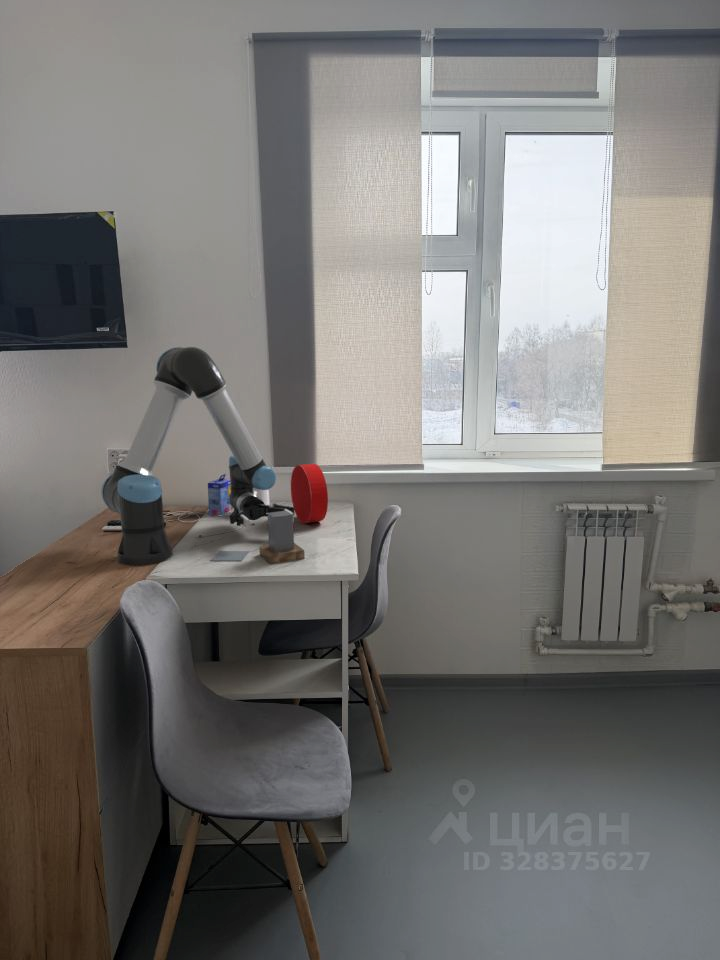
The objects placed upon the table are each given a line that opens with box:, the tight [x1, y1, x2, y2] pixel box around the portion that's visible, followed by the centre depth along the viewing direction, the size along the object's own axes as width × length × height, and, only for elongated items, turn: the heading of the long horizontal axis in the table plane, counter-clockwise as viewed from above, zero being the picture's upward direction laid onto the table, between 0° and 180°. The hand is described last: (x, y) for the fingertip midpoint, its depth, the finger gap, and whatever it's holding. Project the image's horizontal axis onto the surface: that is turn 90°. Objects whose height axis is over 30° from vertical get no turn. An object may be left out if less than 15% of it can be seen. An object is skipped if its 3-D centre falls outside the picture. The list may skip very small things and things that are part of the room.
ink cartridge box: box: [207, 473, 234, 516], centre depth 244 cm, size 10×6×14 cm, turn 163°
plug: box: [267, 511, 295, 552], centre depth 187 cm, size 6×6×12 cm
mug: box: [253, 488, 270, 514], centre depth 240 cm, size 9×12×11 cm
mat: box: [209, 550, 250, 562], centre depth 190 cm, size 9×9×1 cm
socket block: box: [259, 542, 306, 565], centre depth 188 cm, size 10×10×3 cm
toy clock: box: [290, 463, 329, 524], centre depth 228 cm, size 20×6×20 cm, turn 25°
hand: (270, 520), depth 196 cm, fingers open, 13 cm apart
